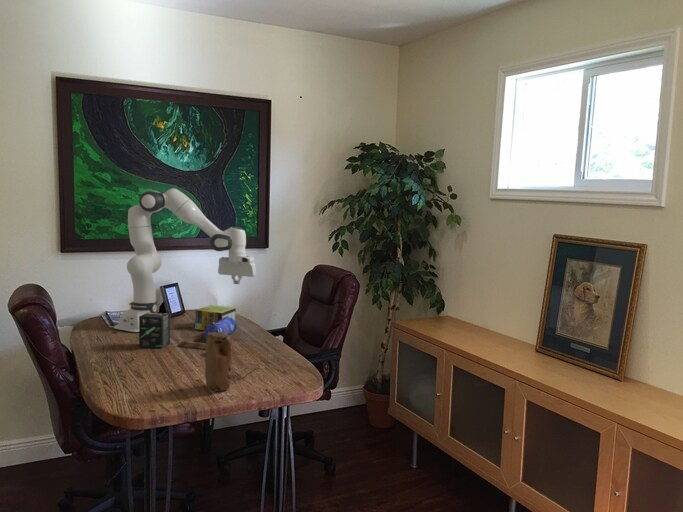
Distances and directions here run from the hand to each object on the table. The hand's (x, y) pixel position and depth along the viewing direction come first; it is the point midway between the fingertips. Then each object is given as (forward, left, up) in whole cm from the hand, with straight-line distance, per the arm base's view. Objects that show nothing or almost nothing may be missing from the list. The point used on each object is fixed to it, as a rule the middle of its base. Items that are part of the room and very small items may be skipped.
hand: (236, 284), depth 292 cm
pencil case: (+1, -20, -24) cm, 31 cm away
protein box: (-10, +6, -19) cm, 22 cm away
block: (+33, -85, -24) cm, 94 cm away
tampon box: (-20, -44, -24) cm, 54 cm away
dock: (0, -26, -24) cm, 35 cm away
